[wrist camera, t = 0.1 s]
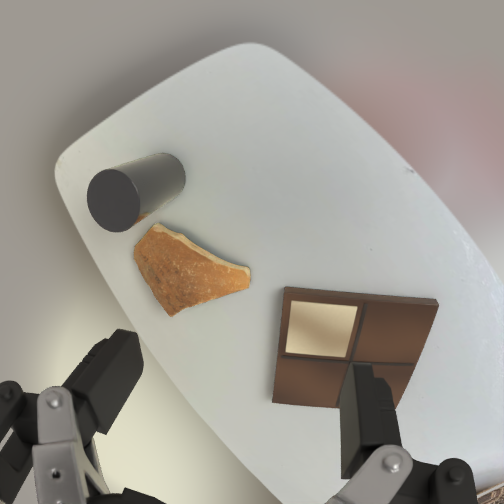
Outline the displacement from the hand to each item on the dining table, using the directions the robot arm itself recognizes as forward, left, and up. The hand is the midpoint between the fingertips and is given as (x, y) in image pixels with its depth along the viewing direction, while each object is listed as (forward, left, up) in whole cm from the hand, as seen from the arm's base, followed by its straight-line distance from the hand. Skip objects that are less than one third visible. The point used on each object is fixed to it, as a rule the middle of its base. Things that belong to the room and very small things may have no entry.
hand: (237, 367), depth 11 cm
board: (+15, +9, -19) cm, 26 cm away
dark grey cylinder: (-3, -11, -19) cm, 22 cm away
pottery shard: (+5, -9, -20) cm, 22 cm away
